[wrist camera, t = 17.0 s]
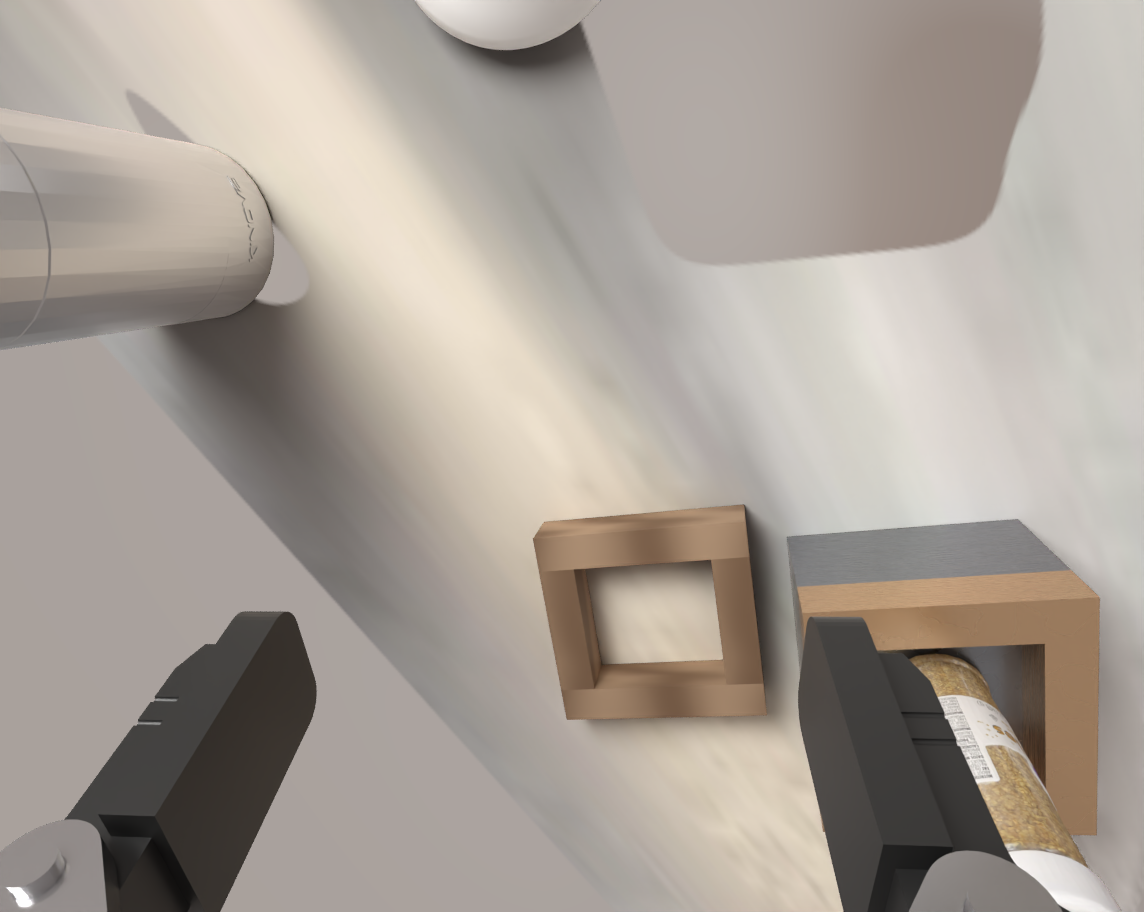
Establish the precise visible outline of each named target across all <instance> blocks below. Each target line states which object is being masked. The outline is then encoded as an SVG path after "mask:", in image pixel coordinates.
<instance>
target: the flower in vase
mask: <svg viewBox="0 0 1144 912" xmlns="http://www.w3.org/2000/svg"><path fill="white" fill-rule="evenodd" d="M414 1H415V2H416V4H417V5H418V6H419V7H420V8H421V9H422V11H423V12H424V13H425V14H426V15H427V16H428V17H429V18H430V19H431V20H432V21H433V22H434V23H435V24H437V25H438V26H439V27H440V28H442V29H443V30H445V31H446V32H448V33H449V34H450V35H452V36H454V37H456V38H458V39H460V40H462V41H464V42H466V43H469V44H472V45H475V46H479V47H482V48H488V49H494V50H516V49H523V48H529V47H532V46H536V45H539V44H543V43H545V42H547V41H550V40H552V39H554V38H556V37H558V36H560V35H562V34H563V33H565V32H566V31H568V30H569V29H571V28H573V27H574V26H575V25H576V24H578V23H579V22H580V21H581V20H582V19H583V18H585V17H586V16H587V15H588V14H589V13H590V12H591V11H592V10H593V9H594V7H596V5H597V4H598V3H599V2H600V1H601V0H414Z"/></svg>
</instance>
